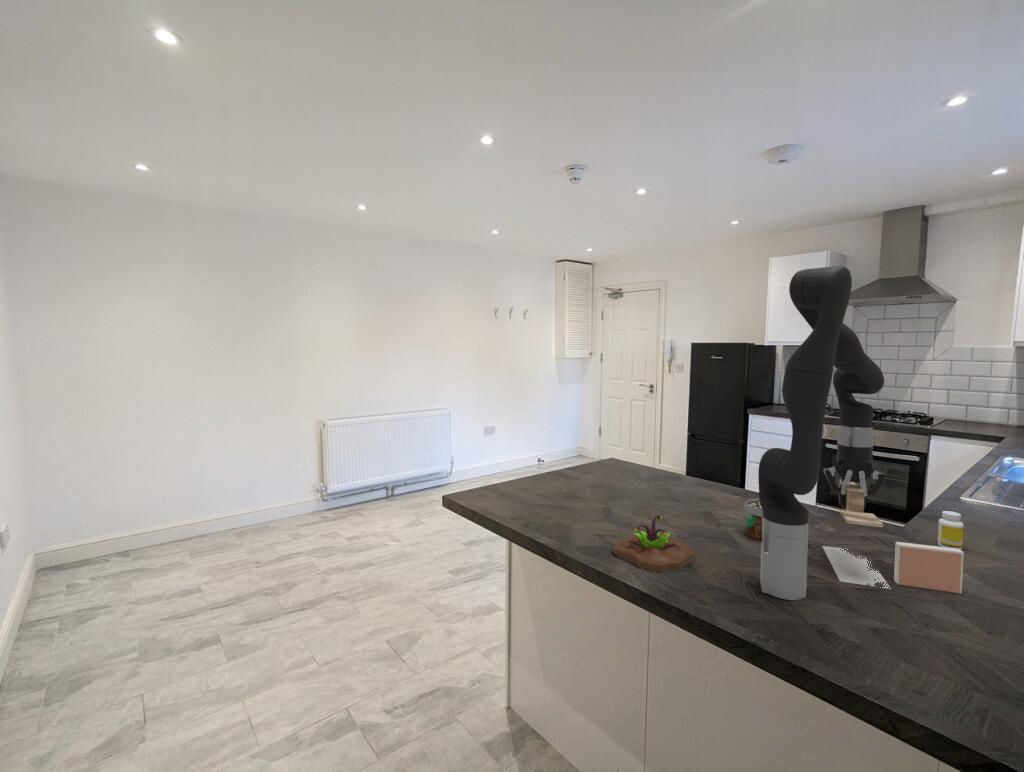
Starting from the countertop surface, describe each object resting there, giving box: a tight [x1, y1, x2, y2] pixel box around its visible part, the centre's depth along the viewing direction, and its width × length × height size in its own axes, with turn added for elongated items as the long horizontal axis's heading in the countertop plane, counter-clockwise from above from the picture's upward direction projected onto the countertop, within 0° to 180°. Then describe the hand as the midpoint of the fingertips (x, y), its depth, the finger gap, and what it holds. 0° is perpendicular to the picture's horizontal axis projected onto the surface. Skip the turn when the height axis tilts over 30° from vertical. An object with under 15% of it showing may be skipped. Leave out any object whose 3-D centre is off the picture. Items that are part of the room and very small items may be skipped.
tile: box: [893, 541, 965, 594], centre depth 113 cm, size 12×2×10 cm, turn 67°
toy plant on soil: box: [612, 514, 696, 573], centre depth 134 cm, size 20×20×11 cm
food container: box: [743, 498, 763, 542], centre depth 147 cm, size 12×6×10 cm, turn 141°
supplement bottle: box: [936, 510, 965, 551], centre depth 137 cm, size 5×5×10 cm
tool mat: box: [821, 545, 892, 590], centre depth 125 cm, size 10×23×1 cm, turn 157°
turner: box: [838, 479, 884, 528], centre depth 124 cm, size 20×7×6 cm, turn 157°
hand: (852, 508), depth 126 cm, fingers closed on turner, 3 cm apart
